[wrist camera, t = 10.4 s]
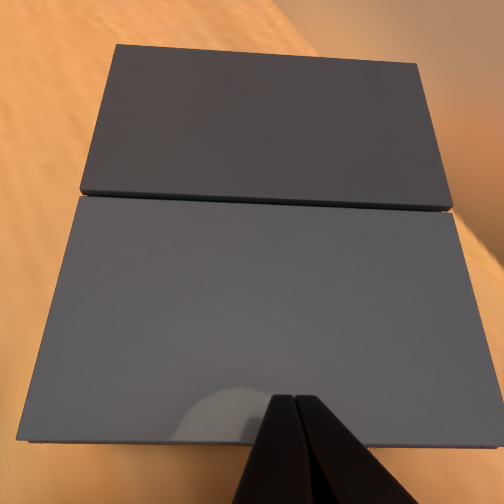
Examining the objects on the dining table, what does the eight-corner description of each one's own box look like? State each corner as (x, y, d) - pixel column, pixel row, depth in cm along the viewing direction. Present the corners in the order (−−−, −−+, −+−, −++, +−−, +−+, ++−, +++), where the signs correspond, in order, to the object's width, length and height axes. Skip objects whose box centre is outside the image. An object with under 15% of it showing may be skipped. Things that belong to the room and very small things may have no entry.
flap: (506, 446, 10) (516, 447, 10) (22, 440, 10) (14, 440, 9) (446, 218, 14) (452, 212, 13) (83, 202, 13) (79, 195, 13)
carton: (393, 442, 17) (519, 450, 10) (107, 438, 17) (11, 443, 9) (357, 177, 24) (417, 61, 16) (150, 167, 23) (114, 42, 16)
